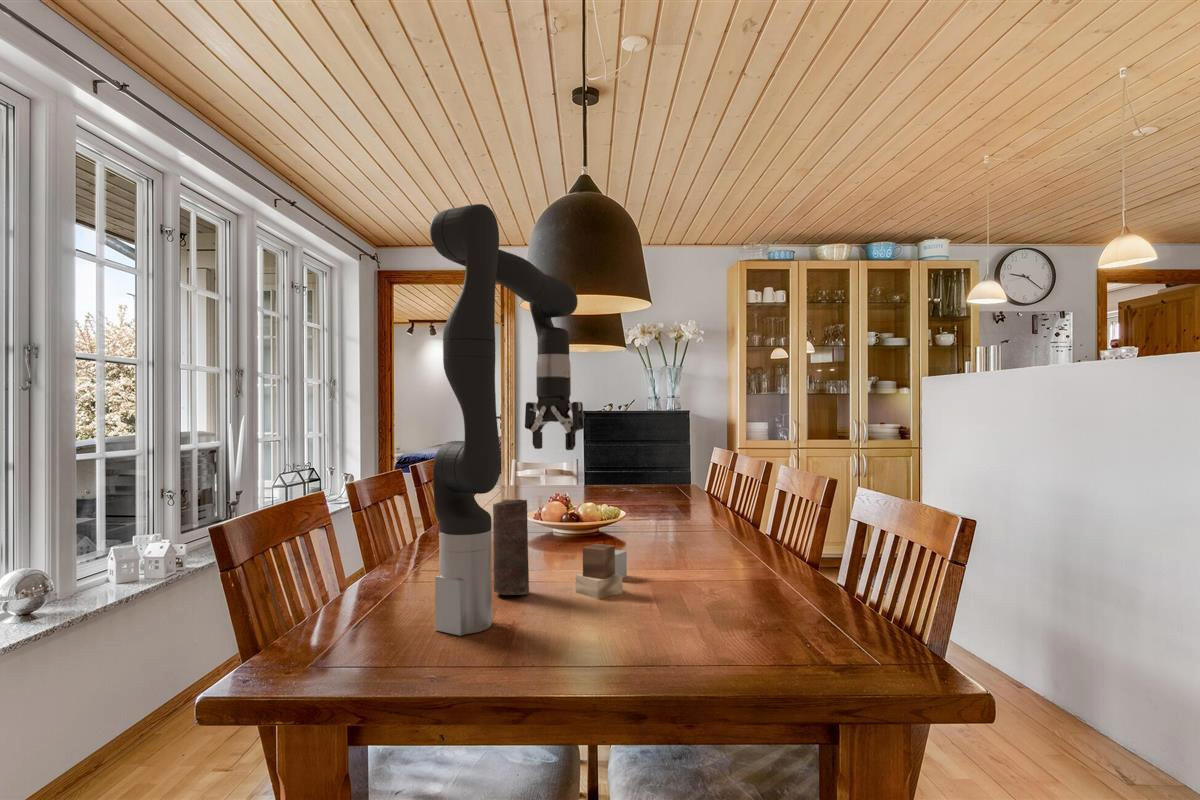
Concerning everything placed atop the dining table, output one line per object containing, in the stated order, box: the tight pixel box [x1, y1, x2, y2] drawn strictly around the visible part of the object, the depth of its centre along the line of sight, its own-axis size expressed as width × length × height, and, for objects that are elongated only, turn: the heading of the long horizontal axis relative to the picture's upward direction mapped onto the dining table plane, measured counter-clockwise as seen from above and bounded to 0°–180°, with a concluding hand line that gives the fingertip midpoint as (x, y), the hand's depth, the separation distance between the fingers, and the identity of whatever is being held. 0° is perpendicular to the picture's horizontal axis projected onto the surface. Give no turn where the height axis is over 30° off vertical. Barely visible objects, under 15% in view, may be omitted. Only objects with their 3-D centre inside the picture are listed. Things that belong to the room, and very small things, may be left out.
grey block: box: [615, 549, 628, 580], centre depth 153 cm, size 5×5×6 cm
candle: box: [492, 499, 530, 596], centre depth 139 cm, size 8×7×20 cm
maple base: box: [575, 572, 623, 600], centre depth 141 cm, size 7×7×4 cm
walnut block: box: [582, 543, 616, 579], centre depth 141 cm, size 5×5×6 cm
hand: (553, 449), depth 146 cm, fingers open, 8 cm apart
